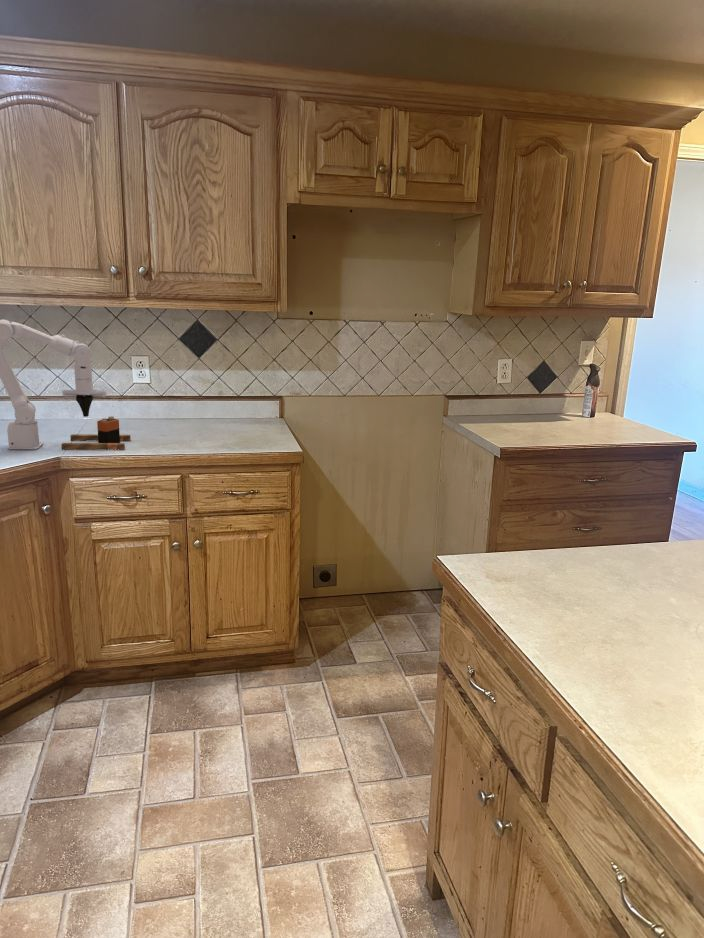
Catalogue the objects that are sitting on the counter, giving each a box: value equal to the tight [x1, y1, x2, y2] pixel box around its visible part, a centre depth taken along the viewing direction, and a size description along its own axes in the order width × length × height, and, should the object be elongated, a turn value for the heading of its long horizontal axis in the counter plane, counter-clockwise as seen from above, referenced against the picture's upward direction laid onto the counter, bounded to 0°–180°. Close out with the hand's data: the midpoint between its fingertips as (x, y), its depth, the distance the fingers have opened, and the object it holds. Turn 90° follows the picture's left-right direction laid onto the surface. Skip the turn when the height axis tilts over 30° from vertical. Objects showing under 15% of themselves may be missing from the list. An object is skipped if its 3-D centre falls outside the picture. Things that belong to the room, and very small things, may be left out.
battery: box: [96, 415, 121, 443], centre depth 247 cm, size 4×7×10 cm, turn 155°
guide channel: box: [61, 433, 131, 451], centre depth 246 cm, size 21×15×2 cm
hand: (86, 416), depth 244 cm, fingers closed
